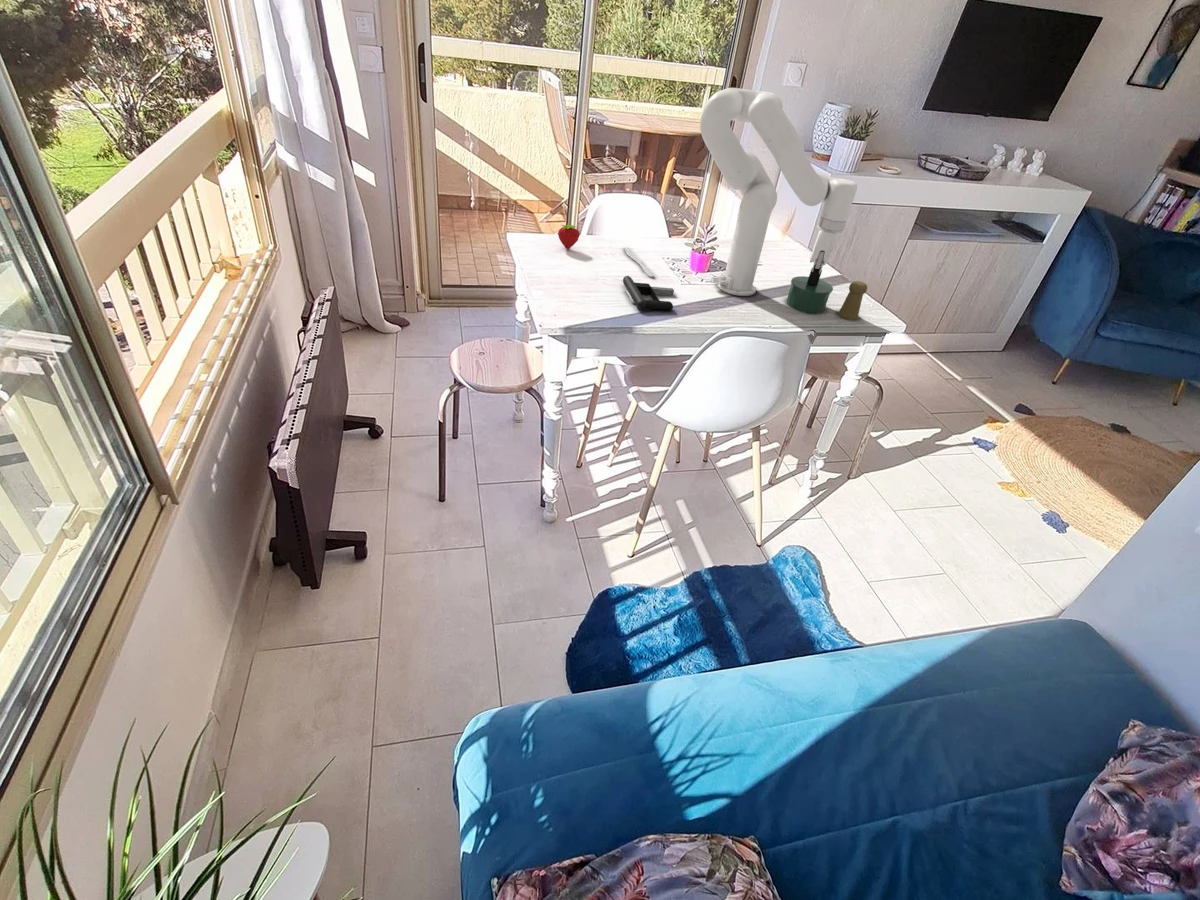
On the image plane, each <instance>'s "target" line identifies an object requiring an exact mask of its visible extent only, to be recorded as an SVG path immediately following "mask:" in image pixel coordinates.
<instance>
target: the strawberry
mask: <svg viewBox="0 0 1200 900" xmlns="http://www.w3.org/2000/svg"><path fill="white" fill-rule="evenodd" d="M569 223H570V221H568V222H567V224H561V228H559V229H558V232H557V236H558V239H559V241H560V243H561V244H562V245H563V247H564V249H566V250H570V249H571V248H572V247H573V246H574V245H575V244H576V243H577V242H578V241H579V238H580V235H581V234H580V231H579V230H578V228H577V226H574V224H573V225H572V224H569Z"/></svg>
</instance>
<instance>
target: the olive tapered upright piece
mask: <svg viewBox="0 0 1200 900" xmlns="http://www.w3.org/2000/svg"><path fill="white" fill-rule="evenodd" d="M848 288H849V289H848V290H849V292H848V294H847V296H846V297H845V300H844V302H843V303H842V305H841V307H840V309H839V311H838V314H837V315H838V316H839V317H841V318H842V319H845V320H849V321H856V320H858V319H859V314H860V310H861V305H862V301H863V296H864V295H865V294H866V293H867V290H868V284H866V283H865V282H864V281H860V280H853V281H852V282H850V284H849V286H848Z"/></svg>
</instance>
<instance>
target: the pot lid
mask: <svg viewBox="0 0 1200 900" xmlns="http://www.w3.org/2000/svg"><path fill="white" fill-rule="evenodd" d="M819 271H820V270H819ZM808 278H809V276H804V275H802V276H799V275H798V276H794V277H792V278H791V280H790V285H791V284H792V285H793V286H794V287H796V288H797V289H799V290H802V291H804V292H808V293H812V294H829V293H830V294H831V293H833V291H834V287H833V285H831V283H829V282H827V281H825V280H822V279H821V278H820V279H819V282H818V285H817V286H812V285H808V284H807V281H808Z"/></svg>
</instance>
